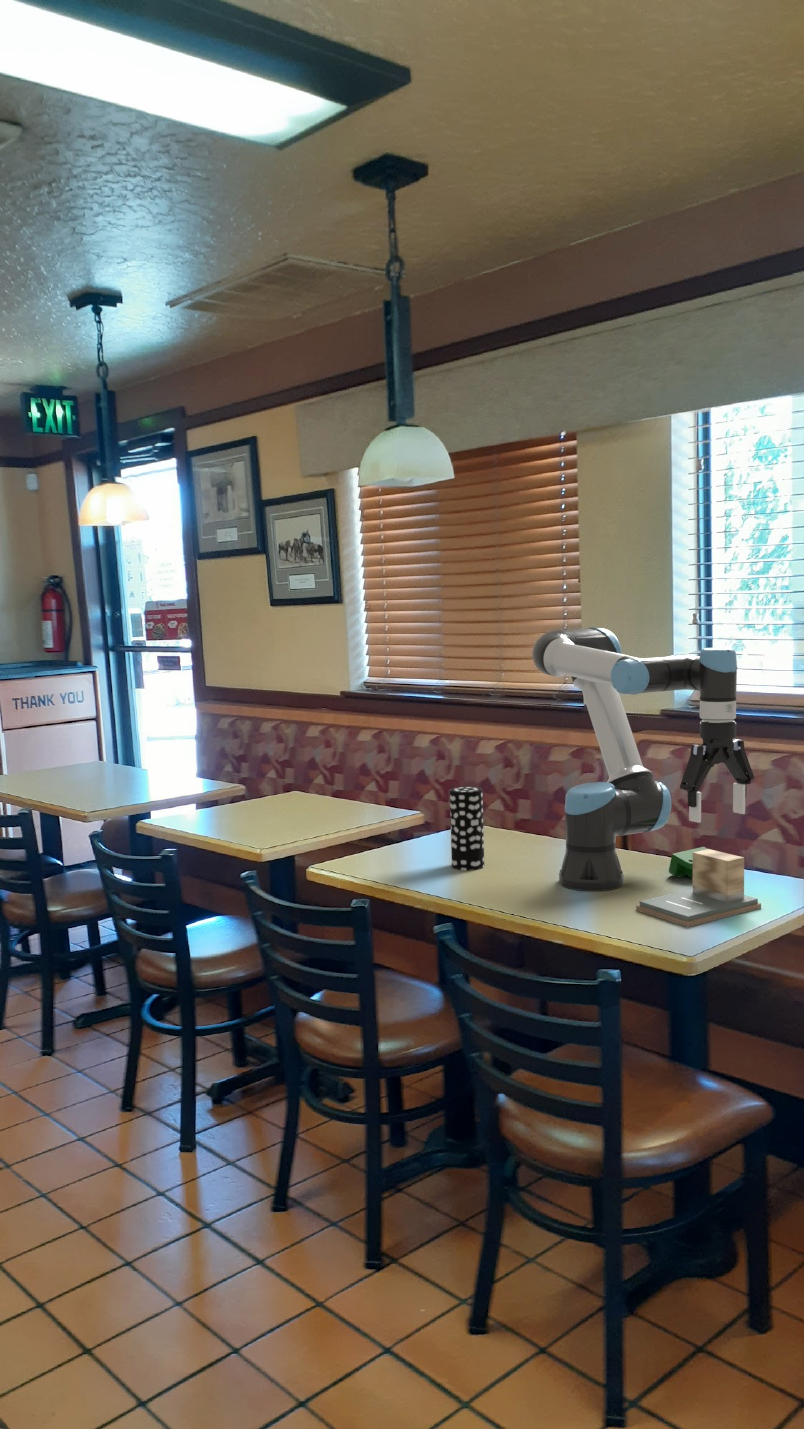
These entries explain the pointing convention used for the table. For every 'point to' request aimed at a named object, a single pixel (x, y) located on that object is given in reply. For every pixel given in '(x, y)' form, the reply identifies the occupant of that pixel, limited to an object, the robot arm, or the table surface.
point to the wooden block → (718, 875)
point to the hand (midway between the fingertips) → (717, 817)
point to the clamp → (683, 862)
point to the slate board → (694, 907)
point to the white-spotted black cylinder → (467, 828)
